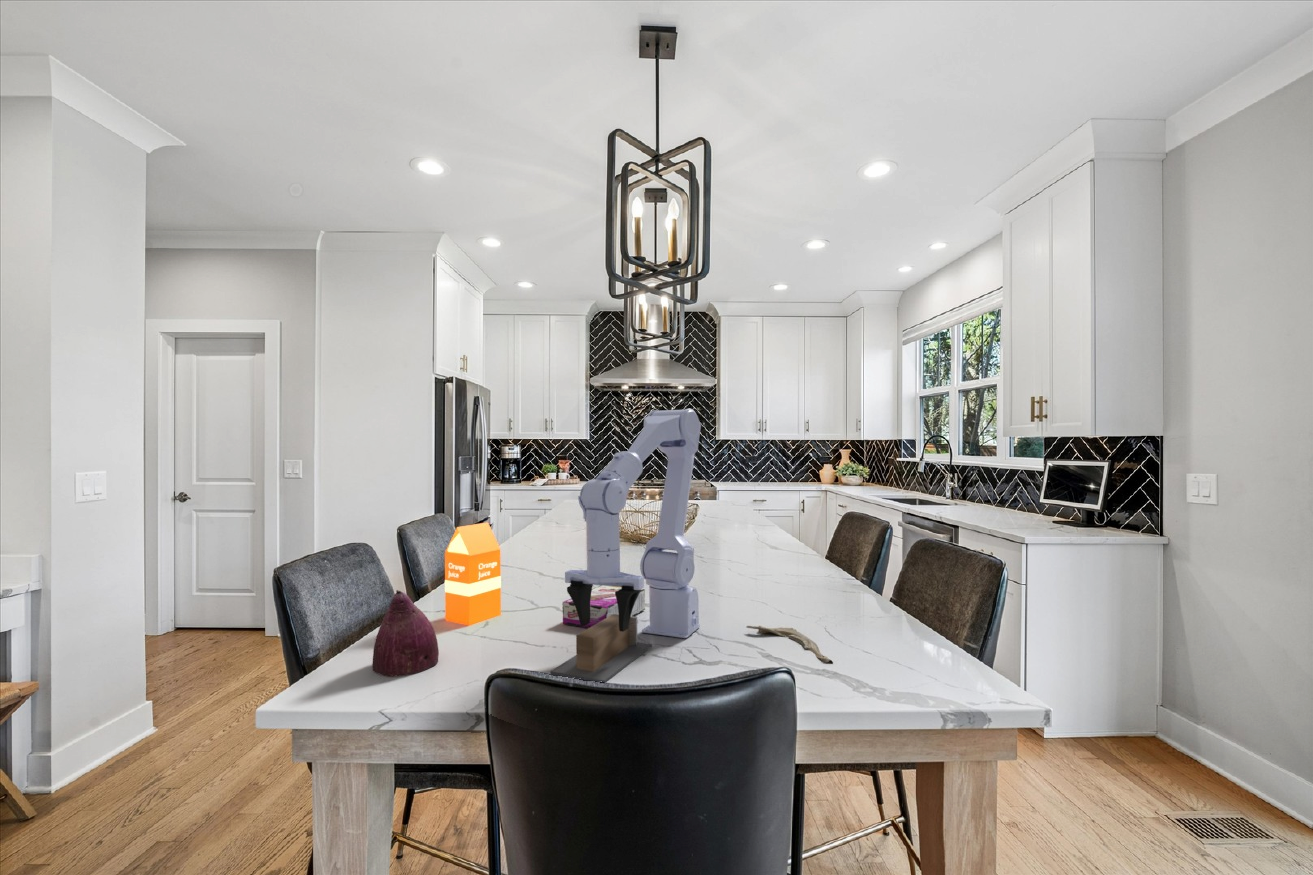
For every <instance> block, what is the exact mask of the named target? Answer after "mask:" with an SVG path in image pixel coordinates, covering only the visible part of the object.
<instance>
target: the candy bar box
mask: <svg viewBox="0 0 1313 875" xmlns="http://www.w3.org/2000/svg"><path fill="white" fill-rule="evenodd" d="M620 589H622V587H614V586H604V585H598V586H597V587H595V588H592V592H591V599H590V623H589V624H587V625H585V626H581V625H580V621H579V617H578V613H577V610H576V607H575V605H574V603H573V600H572V599H571V598H569V599H566V600H564V601H562V625H567V626H573V627H574V626H576V627H582V628H587V629H588V628H590V627H592V626H593V625H595V624H597V623H599V622H600V621H602V620H604V619H606V618H607V614H608V613H609V614H617V615H619V611H618V604H617V599H616V595H615V592H616V591H618V590H620ZM645 591H646V589H645V588H642V589H641V591H640V593H639V595H638V597H637V599H636V601H635V604H634V607H633V609H632V613H631V616H633V617H636V615H638V614H639V613H642V612H643V611H645V610H646V599H645V597H646V594H645Z"/></svg>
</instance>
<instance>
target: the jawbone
mask: <svg viewBox="0 0 1313 875" xmlns="http://www.w3.org/2000/svg"><path fill="white" fill-rule="evenodd" d="M745 628H746V629H747V628H748V629H754V630H758V632H759V633H762V634H767V633H772V634H774V635H777V636H779V637H784V638H789V639H790V640H791V641H794V642H796V643H799V645H801V646H802V647H803V648H804V649H805V650H809V651H810V652H811V653H812V654H814V655H815V657H816V658H818V659H820V660H821V661H822V662H824V663H826V664H834V661H833V660H832V659H830V658H828V657H827V656H825V655H823V654H822V653H821V651H820V649H819V648H820V647H819V646H818V644H817V643H816V642H814V640H812V639H810V638H809V637H807V636H805V635H804V634H802V633H801V632H800V631H798V630H797V629H795V628H793V627H783V626H782V627H775V628H774V627H773V628H770V627H766V626H765V627H764V626H762V625H758V626H755V625H754V626H752V625H747V626H746V627H745Z"/></svg>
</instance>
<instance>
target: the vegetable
mask: <svg viewBox="0 0 1313 875" xmlns="http://www.w3.org/2000/svg"><path fill="white" fill-rule="evenodd" d="M383 616H384V617H383V619H382V622H381V623H380V626H379V629H378V632H377V634H376V637H375V640H374V645H373V653H372V654H373V655H372V665H371V666H372V667H371V668H372V671H373V672H374V673H376V674H377V675H378V674H379V675H382V676H383V677H390V678H391V677H402V676H403V677H404V676H408V675H414V674H419V673H421V672H424V671H426V670H429V669H430V668H434V667H435V666H436V665H437V664H438V662H439V655H440V653H439V652H440V650H439V643H438V639H437V634H436V631H435V628H434V626H433V625H432V623H431V621H430V620H429V619H428V617H427V616H426V614H425V613H424V612H423V611H422V610H421V609H419V607H417V606H416V605H415V603H414V601H412V599H411V598H410V597H409V595H408V594H406V593H405V592H402V591H401V590H399V589H396V593H394V595H393V597H392V599H391V602H390V605H389V607H388V608H387V610H386V612H385V615H383Z"/></svg>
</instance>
